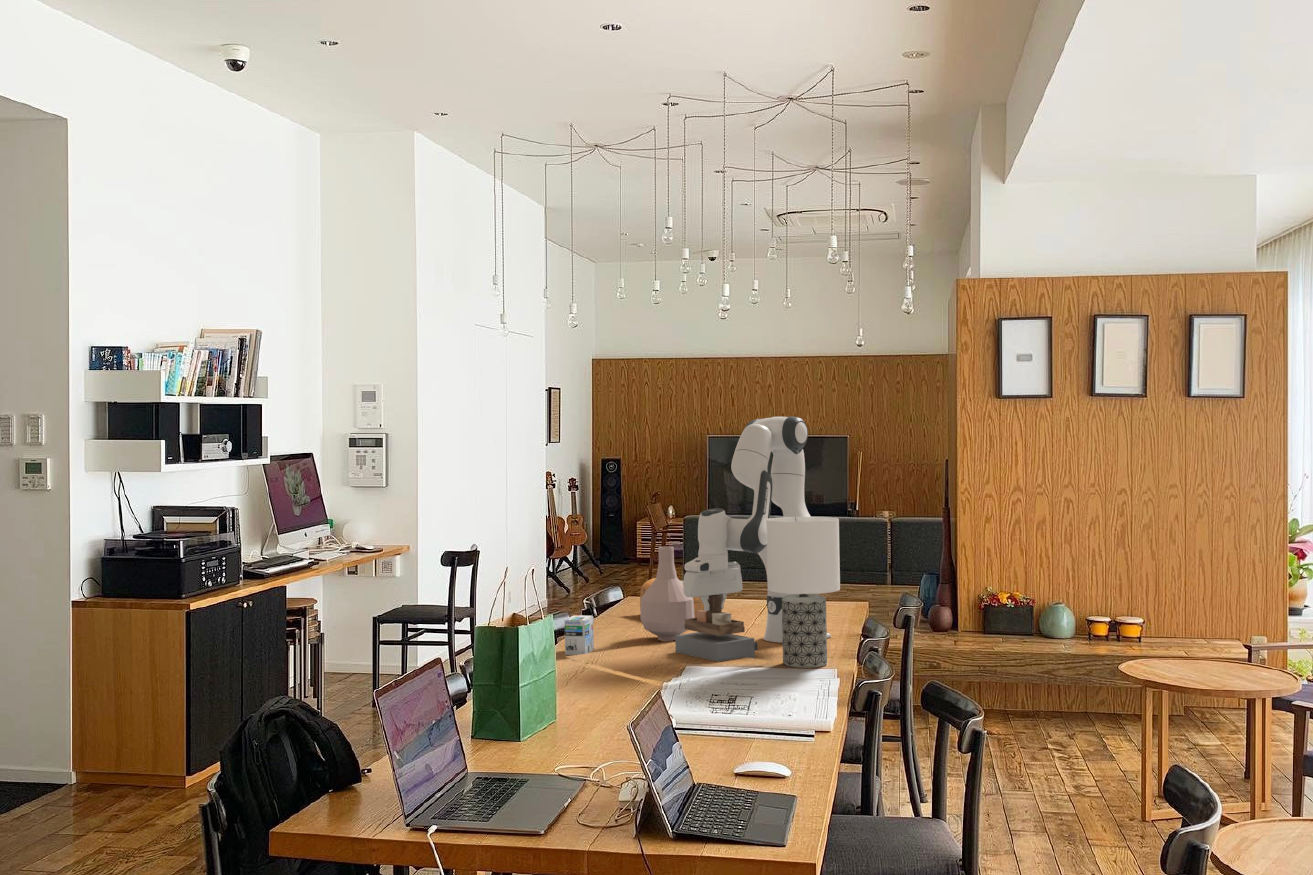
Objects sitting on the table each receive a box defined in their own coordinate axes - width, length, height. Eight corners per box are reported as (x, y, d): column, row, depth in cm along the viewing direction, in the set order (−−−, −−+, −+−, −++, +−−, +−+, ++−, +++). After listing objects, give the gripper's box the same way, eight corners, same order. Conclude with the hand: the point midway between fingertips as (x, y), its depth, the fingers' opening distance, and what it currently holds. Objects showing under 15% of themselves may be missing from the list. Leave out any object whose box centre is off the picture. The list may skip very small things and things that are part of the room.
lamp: (848, 669, 327) (846, 520, 327) (775, 672, 325) (772, 522, 325) (832, 656, 347) (830, 515, 347) (763, 658, 346) (761, 517, 346)
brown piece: (710, 625, 359) (709, 591, 359) (744, 631, 346) (744, 596, 346) (684, 629, 353) (684, 594, 353) (718, 635, 340) (717, 599, 340)
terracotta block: (707, 622, 355) (707, 609, 355) (715, 624, 352) (715, 610, 352) (697, 623, 353) (696, 610, 353) (705, 625, 350) (705, 612, 350)
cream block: (722, 625, 350) (722, 611, 350) (731, 626, 346) (731, 613, 346) (712, 626, 347) (712, 613, 347) (720, 628, 344) (720, 614, 344)
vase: (673, 645, 370) (671, 550, 370) (629, 640, 380) (628, 548, 380) (705, 637, 384) (703, 546, 384) (662, 633, 394) (660, 543, 394)
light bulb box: (585, 655, 356) (585, 620, 356) (564, 655, 357) (563, 619, 357) (594, 649, 366) (593, 614, 366) (573, 649, 368) (573, 614, 368)
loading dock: (714, 649, 363) (714, 629, 363) (757, 658, 347) (757, 637, 347) (675, 655, 354) (675, 635, 354) (717, 664, 338) (717, 643, 338)
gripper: (733, 560, 359) (733, 605, 359) (679, 565, 346) (680, 612, 346) (746, 561, 353) (747, 607, 353) (693, 566, 341) (693, 614, 341)
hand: (713, 609), depth 350 cm, fingers closed on brown piece, 3 cm apart
